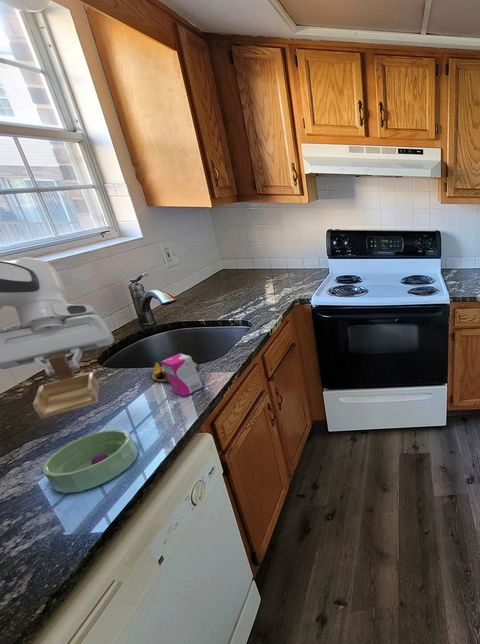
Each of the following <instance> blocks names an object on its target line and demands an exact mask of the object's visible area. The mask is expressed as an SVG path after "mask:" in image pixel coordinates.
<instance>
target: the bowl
mask: <svg viewBox="0 0 480 644" xmlns="http://www.w3.org/2000/svg"><path fill="white" fill-rule="evenodd" d="M138 453H139V450H138V448H137V447H136V444H135V442H134V441H133V438H132V437H131V435H130V434H129V432H128V431H127V430H122V429H109V430H102V431H99V432H95V433H92V434H88V435H86V436H83V437H81V438H79V439H76V440H74V441H72V442H70V443H68V444H66V445H65V446H62V447H61V448H59V449H58V450H57V451H55V452H54V453H52V455H50V456H49V457H48V458H47V459H46V460H45V462H44V464H43V466H42V472H43V473H44V475H45V477H46V478H47V480H48V482H49V483H50V484H51V486H52V488H53V489H54V490H55V491H56V492H60V493H62V494H63V493H64V494H69V493H79V492H83V491H86V490H89V489H93V488H95V487H98V486H100V485H102V484H105V483H106V482H109V481H110V480H112V479H115V478H116V477H117V476H119V475H120V474H122V473H123V472H125V471H126V470H127V469H129V468H130V467H131V465H132V464H133V463H135V461H136V460H137V457H138ZM99 454H106V455H108V456H109V457H107V458H106V459H104V460H102V461H100V462H98V463H96V464H93V465H92V459H93V458H94V457H95V456H96V455H99Z"/></svg>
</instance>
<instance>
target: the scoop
mask: <svg viewBox="0 0 480 644" xmlns="http://www.w3.org/2000/svg"><path fill="white" fill-rule="evenodd" d="M67 361H69V360H68V357H67V355H65V354H64V353H62V354H57V355H53V356H50V357H49V359H48V362H49V364H50V365H51V366H52V367H53V369H54V371H55V373H56V374H55V375H56V376H57V378H58V379H59V380H56V381H53V382H48V383H46V384H41V385H39V387H38V389H37V392H36V395H35V397H34V401H33V402H32V407H33V408H34V410H35V412H36V413H37V415H38V416H39V418H40V420H44V419H47V418H51V417H54V416H57V415H61V414H63V413H67V412H70V411H73V410H76V409H80V408H83V407H87V406H90V405H93V404H98V402H99V391H100V383H99V381H98V380H97V378H96V376H95V374H94V372H93V371H91V372H87V373H82V374H80V375H77V374H76V373H75V370H71V369H70V368H69V366H68V363H67Z"/></svg>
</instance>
